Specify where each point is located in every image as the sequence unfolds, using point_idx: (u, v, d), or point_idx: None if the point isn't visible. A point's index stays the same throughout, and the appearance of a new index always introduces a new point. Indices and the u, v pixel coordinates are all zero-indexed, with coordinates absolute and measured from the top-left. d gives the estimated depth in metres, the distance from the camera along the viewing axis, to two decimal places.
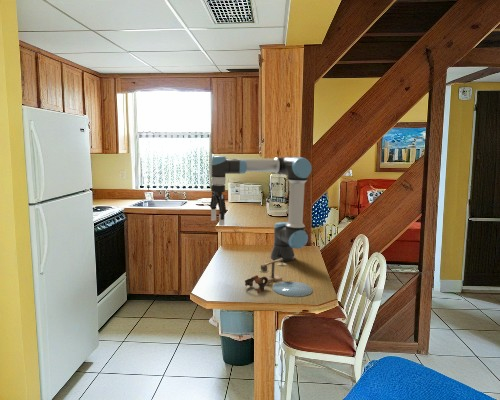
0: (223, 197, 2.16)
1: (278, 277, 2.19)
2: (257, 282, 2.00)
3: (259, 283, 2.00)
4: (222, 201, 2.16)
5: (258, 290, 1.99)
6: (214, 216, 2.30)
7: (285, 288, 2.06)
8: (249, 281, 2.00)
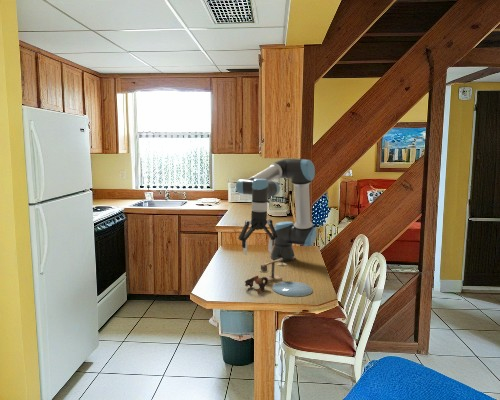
0: (246, 223, 1.96)
1: (278, 277, 2.19)
2: (257, 282, 1.99)
3: (259, 283, 1.99)
4: (243, 228, 1.97)
5: (258, 290, 1.99)
6: (269, 247, 2.03)
7: (285, 288, 2.06)
8: (249, 281, 2.00)
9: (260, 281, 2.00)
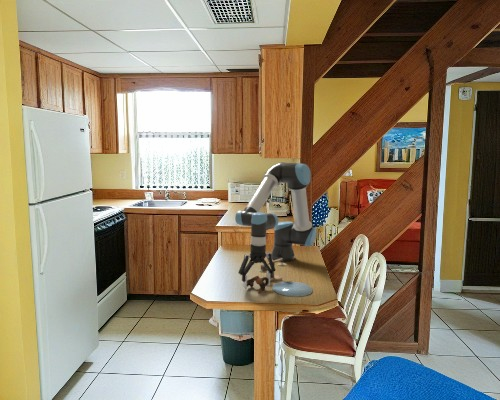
0: (245, 258, 1.98)
1: (278, 277, 2.19)
2: (258, 282, 1.99)
3: (260, 283, 1.99)
4: (243, 262, 1.99)
5: (259, 291, 1.98)
6: None
7: (285, 288, 2.06)
8: (250, 282, 1.99)
9: (261, 281, 2.00)
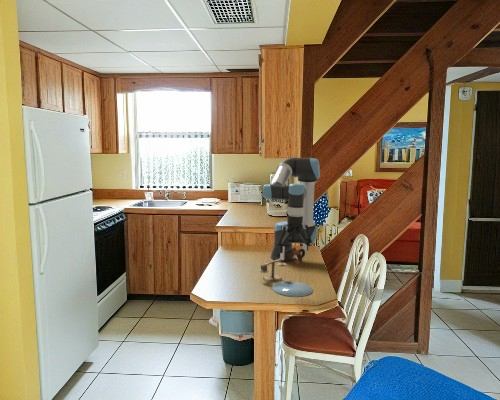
0: (283, 229, 1.98)
1: (278, 277, 2.19)
2: (295, 254, 1.98)
3: (297, 255, 1.98)
4: (280, 233, 1.99)
5: (297, 262, 1.98)
6: None
7: (285, 288, 2.06)
8: (287, 253, 1.99)
9: (298, 252, 1.99)
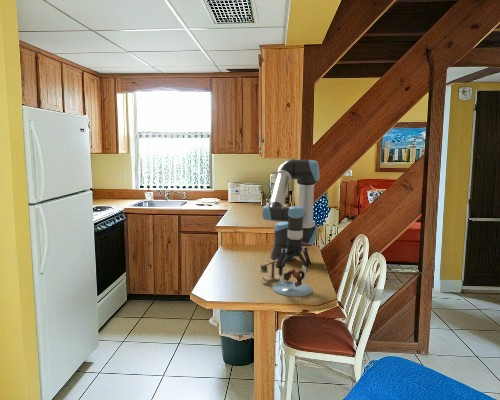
0: (282, 251, 1.99)
1: (278, 277, 2.19)
2: (295, 276, 2.00)
3: (297, 277, 2.00)
4: (280, 255, 2.01)
5: (296, 284, 1.99)
6: None
7: (285, 288, 2.06)
8: (287, 275, 2.00)
9: (297, 275, 2.01)
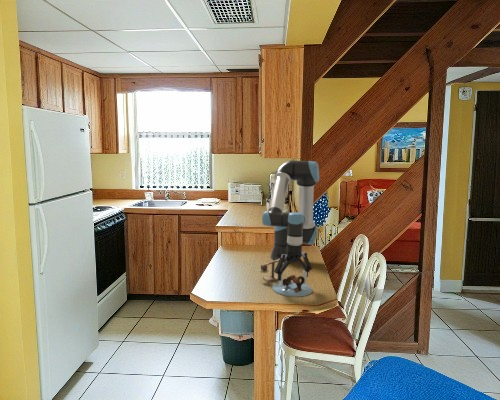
0: (282, 257, 2.00)
1: None
2: (295, 282, 2.00)
3: (297, 283, 2.00)
4: (279, 261, 2.01)
5: (296, 290, 2.00)
6: (304, 279, 2.07)
7: (285, 288, 2.06)
8: (287, 281, 2.01)
9: (297, 280, 2.01)
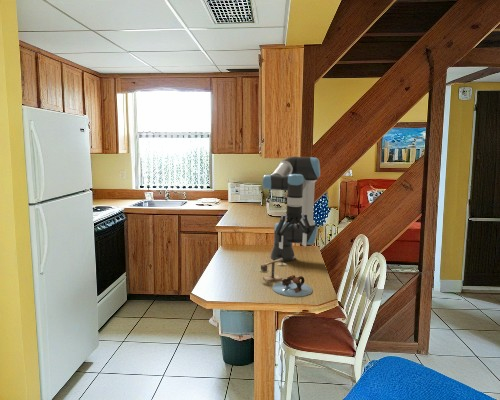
0: (282, 218, 2.00)
1: (278, 277, 2.19)
2: (295, 282, 2.00)
3: (297, 283, 2.00)
4: (279, 222, 2.01)
5: (296, 290, 1.99)
6: (304, 241, 2.08)
7: (285, 288, 2.06)
8: (287, 281, 2.01)
9: (297, 280, 2.01)
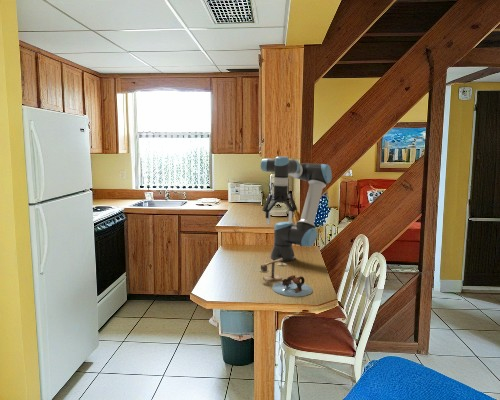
0: (269, 196, 2.19)
1: (278, 277, 2.19)
2: (295, 282, 2.00)
3: (297, 283, 2.00)
4: (267, 200, 2.20)
5: (296, 290, 1.99)
6: (290, 218, 2.27)
7: (285, 288, 2.06)
8: (287, 281, 2.00)
9: (297, 280, 2.01)
